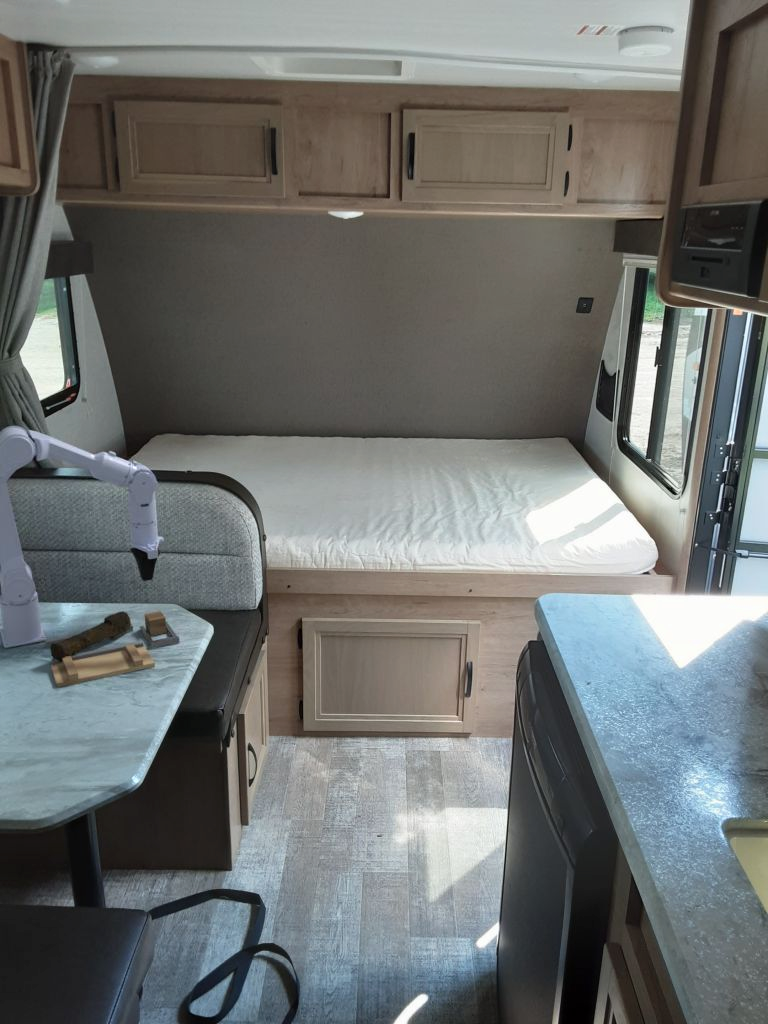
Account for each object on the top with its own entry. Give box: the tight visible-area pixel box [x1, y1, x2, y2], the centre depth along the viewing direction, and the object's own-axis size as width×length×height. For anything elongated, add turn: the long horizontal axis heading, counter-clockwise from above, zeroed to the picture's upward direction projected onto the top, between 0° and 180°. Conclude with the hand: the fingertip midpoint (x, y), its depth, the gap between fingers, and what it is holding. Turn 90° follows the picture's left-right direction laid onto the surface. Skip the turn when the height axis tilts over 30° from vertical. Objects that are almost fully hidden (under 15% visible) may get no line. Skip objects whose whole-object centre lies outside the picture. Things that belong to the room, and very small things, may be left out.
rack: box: [50, 642, 156, 688], centre depth 156 cm, size 8×18×2 cm, turn 120°
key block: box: [144, 610, 167, 637], centre depth 172 cm, size 4×3×4 cm
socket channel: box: [44, 623, 144, 665], centre depth 165 cm, size 10×18×1 cm, turn 120°
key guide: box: [139, 621, 181, 649], centre depth 170 cm, size 10×6×1 cm, turn 30°
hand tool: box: [49, 611, 132, 662], centre depth 164 cm, size 19×4×5 cm, turn 148°
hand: (147, 579), depth 177 cm, fingers closed
